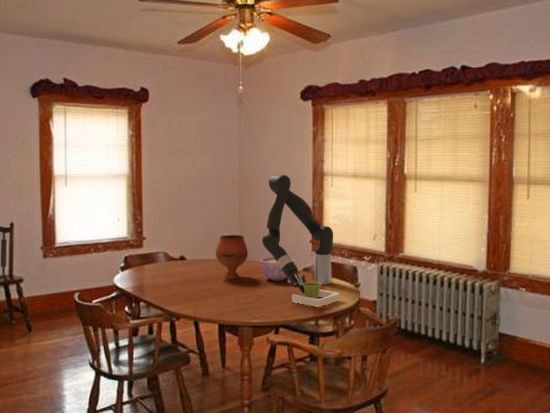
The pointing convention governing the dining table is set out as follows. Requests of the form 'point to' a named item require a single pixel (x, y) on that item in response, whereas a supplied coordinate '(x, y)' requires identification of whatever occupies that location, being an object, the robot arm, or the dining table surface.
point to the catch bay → (326, 299)
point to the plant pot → (311, 289)
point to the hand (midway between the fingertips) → (305, 292)
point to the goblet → (231, 253)
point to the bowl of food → (272, 269)
